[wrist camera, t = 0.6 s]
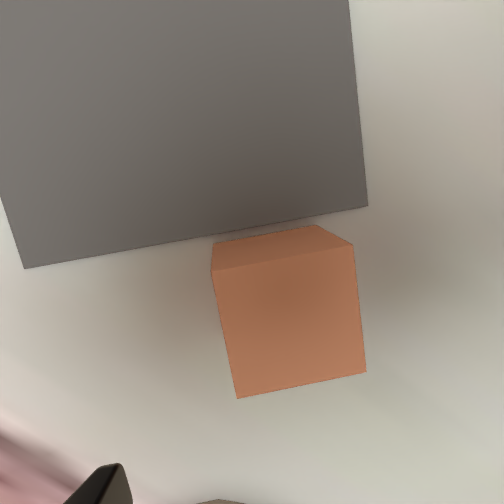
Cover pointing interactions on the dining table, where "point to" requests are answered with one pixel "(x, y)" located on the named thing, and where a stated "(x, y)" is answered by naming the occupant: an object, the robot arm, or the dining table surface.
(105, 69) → the mat
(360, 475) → the dining table surface
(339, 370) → the block
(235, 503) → the cup
